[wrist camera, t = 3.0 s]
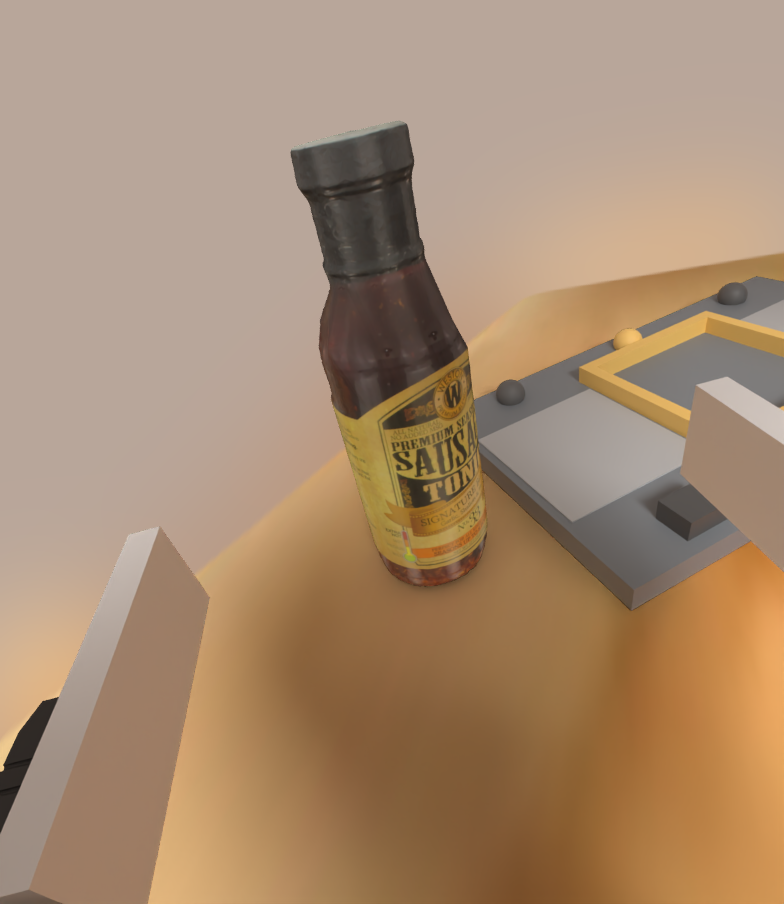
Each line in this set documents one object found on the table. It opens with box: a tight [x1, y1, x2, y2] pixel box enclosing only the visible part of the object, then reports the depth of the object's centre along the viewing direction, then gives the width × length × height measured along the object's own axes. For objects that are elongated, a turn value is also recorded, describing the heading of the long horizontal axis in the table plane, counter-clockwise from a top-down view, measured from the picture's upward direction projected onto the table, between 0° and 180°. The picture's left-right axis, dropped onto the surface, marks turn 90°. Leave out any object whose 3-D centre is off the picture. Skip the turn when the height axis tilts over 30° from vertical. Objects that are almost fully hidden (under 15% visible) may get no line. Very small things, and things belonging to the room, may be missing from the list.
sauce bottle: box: [291, 121, 487, 587], centre depth 21 cm, size 7×6×20 cm
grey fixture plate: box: [474, 276, 784, 611], centre depth 31 cm, size 31×18×3 cm, turn 114°
